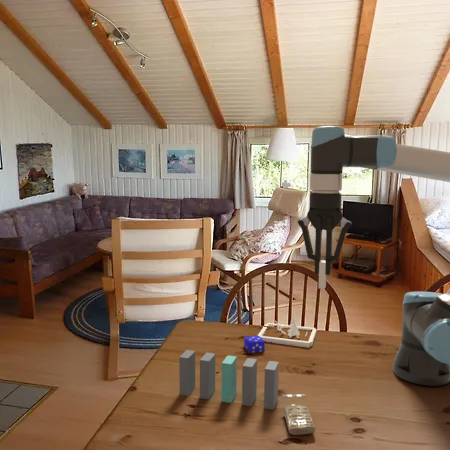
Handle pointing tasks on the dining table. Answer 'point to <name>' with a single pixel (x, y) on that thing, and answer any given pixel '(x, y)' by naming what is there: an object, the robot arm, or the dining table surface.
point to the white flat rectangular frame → (289, 341)
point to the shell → (291, 329)
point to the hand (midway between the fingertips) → (322, 287)
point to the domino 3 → (229, 378)
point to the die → (254, 344)
